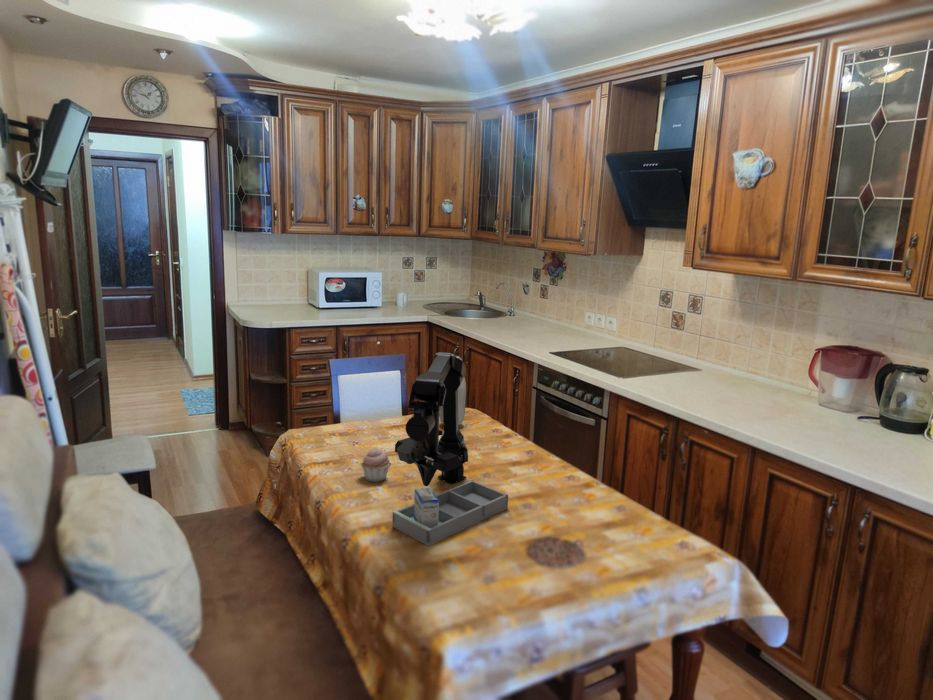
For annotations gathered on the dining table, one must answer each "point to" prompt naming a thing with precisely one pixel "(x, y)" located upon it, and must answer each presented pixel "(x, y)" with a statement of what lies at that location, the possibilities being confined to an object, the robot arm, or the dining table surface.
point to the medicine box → (426, 507)
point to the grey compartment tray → (453, 512)
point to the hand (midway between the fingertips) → (426, 485)
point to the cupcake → (375, 465)
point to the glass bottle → (460, 401)
